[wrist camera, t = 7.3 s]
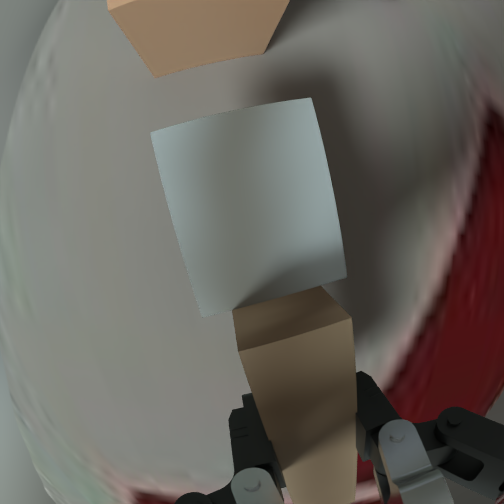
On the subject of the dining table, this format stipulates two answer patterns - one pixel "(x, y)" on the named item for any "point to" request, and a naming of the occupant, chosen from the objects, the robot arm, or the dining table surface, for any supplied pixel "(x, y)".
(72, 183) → the dining table surface
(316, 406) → the spatula
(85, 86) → the dining table surface
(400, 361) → the dining table surface
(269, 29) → the tile
